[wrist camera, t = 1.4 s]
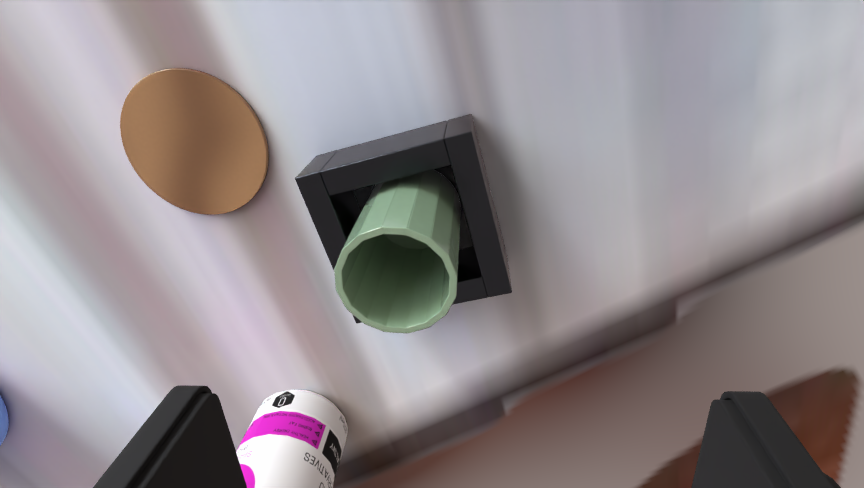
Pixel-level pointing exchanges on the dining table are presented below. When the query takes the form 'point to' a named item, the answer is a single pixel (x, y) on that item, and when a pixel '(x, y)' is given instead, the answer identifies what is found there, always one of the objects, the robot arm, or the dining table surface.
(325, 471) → the supplement can
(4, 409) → the water jug
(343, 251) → the cup
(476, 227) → the black square frame
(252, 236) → the dining table surface
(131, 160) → the coaster
